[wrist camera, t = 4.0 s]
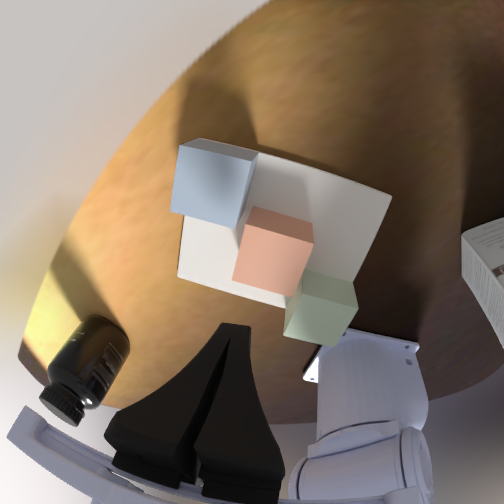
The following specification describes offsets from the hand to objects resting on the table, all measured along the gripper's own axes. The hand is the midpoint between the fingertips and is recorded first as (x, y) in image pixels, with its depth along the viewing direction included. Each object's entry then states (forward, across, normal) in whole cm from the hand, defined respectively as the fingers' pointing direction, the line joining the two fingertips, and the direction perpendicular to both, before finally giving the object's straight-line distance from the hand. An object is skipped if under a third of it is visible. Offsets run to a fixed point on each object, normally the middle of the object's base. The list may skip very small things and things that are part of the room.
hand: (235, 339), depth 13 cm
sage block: (+8, -5, +3) cm, 10 cm away
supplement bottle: (+9, +17, +13) cm, 24 cm away
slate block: (+8, +3, -6) cm, 10 cm away
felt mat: (+9, -1, -1) cm, 9 cm away
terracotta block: (+8, -1, -1) cm, 8 cm away
